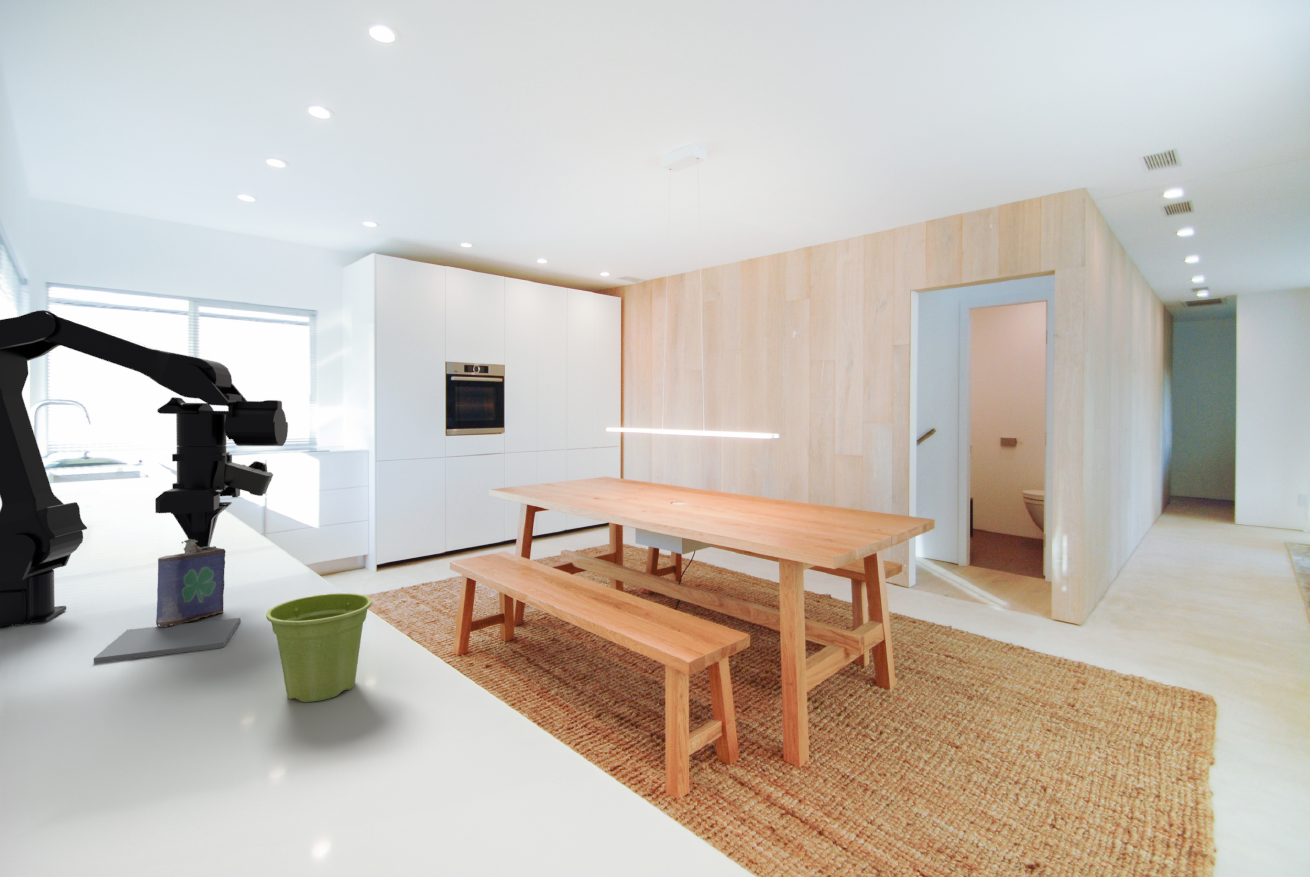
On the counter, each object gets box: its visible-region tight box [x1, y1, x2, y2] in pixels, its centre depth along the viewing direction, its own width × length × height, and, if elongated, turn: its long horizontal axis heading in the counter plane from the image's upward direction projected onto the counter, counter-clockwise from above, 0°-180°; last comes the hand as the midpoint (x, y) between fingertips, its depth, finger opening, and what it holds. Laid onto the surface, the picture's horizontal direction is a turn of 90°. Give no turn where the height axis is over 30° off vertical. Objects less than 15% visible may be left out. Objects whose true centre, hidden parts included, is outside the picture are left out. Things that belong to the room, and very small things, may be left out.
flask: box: [155, 538, 226, 627], centre depth 81 cm, size 9×3×11 cm, turn 171°
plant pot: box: [265, 592, 372, 703], centre depth 61 cm, size 9×9×9 cm
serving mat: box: [93, 617, 241, 664], centre depth 74 cm, size 10×12×1 cm
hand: (202, 553), depth 86 cm, fingers closed
